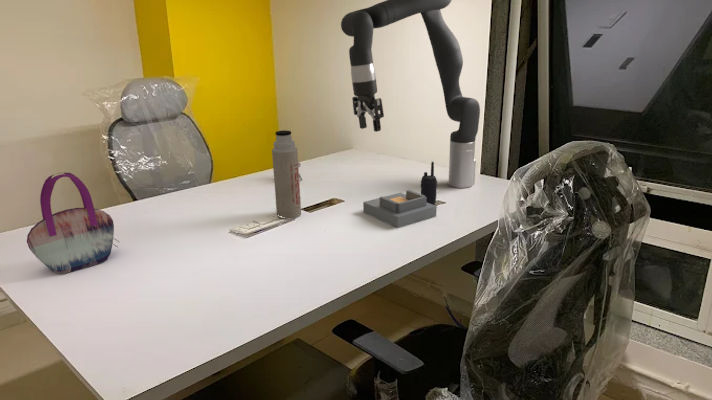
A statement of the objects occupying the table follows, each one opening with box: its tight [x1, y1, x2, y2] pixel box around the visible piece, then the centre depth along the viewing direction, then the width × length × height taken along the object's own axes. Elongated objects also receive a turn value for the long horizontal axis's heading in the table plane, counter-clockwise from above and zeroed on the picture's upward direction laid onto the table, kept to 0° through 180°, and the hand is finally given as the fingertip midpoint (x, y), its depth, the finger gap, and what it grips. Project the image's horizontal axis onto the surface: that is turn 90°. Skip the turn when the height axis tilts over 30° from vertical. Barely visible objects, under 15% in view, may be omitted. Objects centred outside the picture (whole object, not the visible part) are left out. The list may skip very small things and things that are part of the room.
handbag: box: [26, 172, 120, 275], centre depth 134 cm, size 21×10×25 cm, turn 131°
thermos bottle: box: [271, 129, 302, 220], centre depth 165 cm, size 8×8×28 cm
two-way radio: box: [420, 161, 438, 205], centre depth 174 cm, size 6×4×15 cm
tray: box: [362, 189, 438, 229], centre depth 167 cm, size 16×18×6 cm
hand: (370, 129), depth 166 cm, fingers open, 8 cm apart
